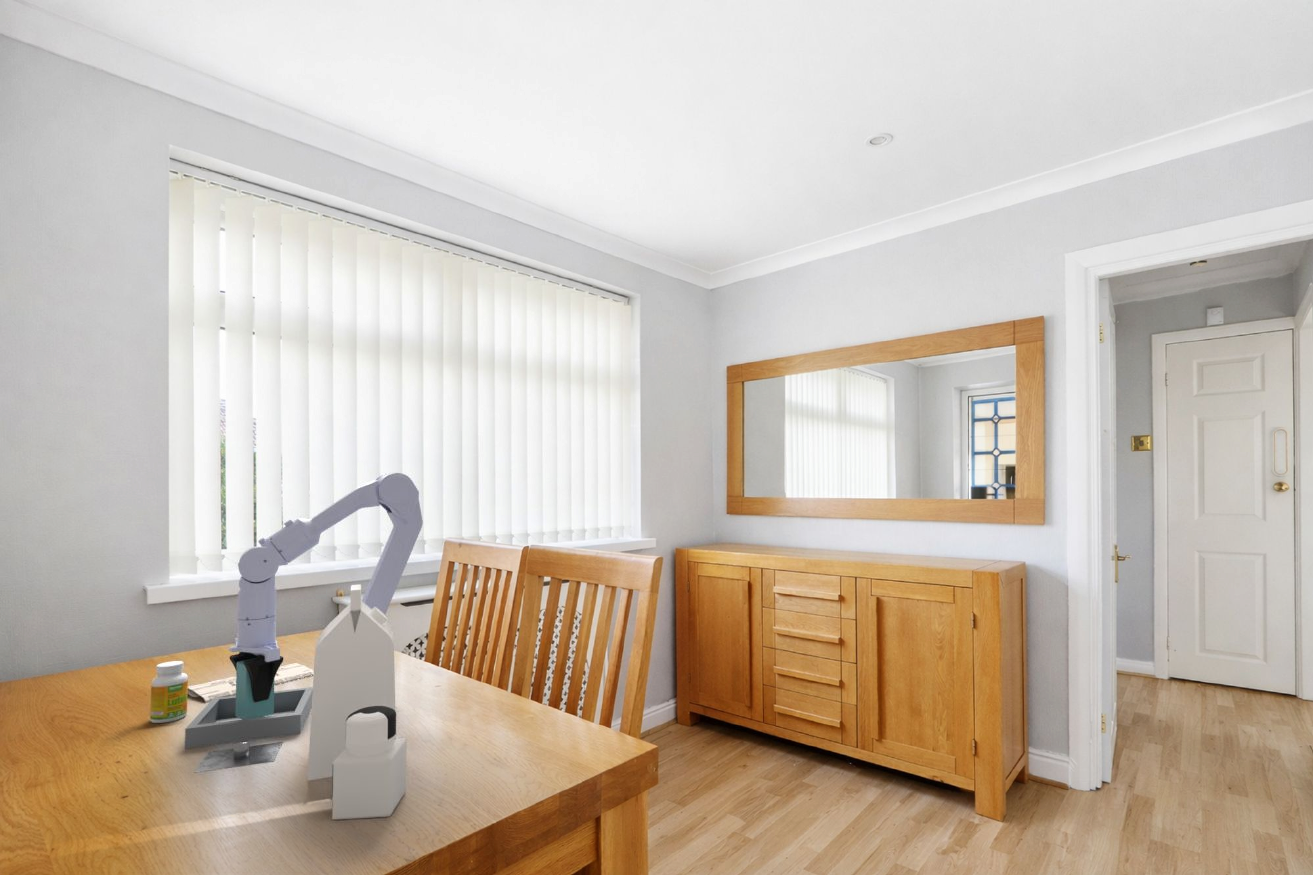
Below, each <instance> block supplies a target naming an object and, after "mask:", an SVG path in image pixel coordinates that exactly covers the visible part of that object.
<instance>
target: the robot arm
mask: <svg viewBox="0 0 1313 875" xmlns="http://www.w3.org/2000/svg"><path fill="white" fill-rule="evenodd" d="M416 486H417V485H415V483H414V482H413V480H412V478H410V476H409V475H407V474H405V473H402V472H393V473H384V474H382V475H379V476H378V477H377V478H376V479H374V480H369V481H367V482H366V483H363V484H362V485H360V486H358V487H355V488H354V489H352V490H351V491H350V492H348V493H347V494H345V495H343V497H341V498H339V499H338V500H336V501H335V502H333V503H332V504H331V505H329V506H328V507H326V508H325V509H323V510H322V511H321V512H319V513H317V515H314V516H313V517H311V518H310V519H308V518H301V517H299V518H296V519H295V520H292V519H289V520H286V522H284V524H283V525H284V527H282V528H281V529H279V530H277V531H276V532H275V533H273V534H271V535H270V536H269V537H267V538H265V537H262V538H260V539H259V540H258V541H257V542H258V543H259V545H260V546H258V545H257V546H253V547H249V548H248V549H247V550H245V551H244V552H243V553H242V555H241V557H240V558H239V562H238V564H237V566H238V571H239V574H240V575H241V576H240V579H239V581H238V587H239V590H238V593H237V627H236V628H237V630H236V632H237V635H236V636H237V637H235V638H234V645H231V646H229V647H228V651H229V652H230V653H236V654H232V655H230V656H229V660H230V662H231V663H232V665H233V667H234V668H235V671H236V670H237V662H239V661H243V664H244V665H245V667H246V669H247V671H248V674H249V677H250V681H251V689H252V696H253V700H254V702H259V701H263V700H267V699H269V696H270V692H271V688H272V684H273V681H274V678H275V675H276V673H277V671H278V669H279V667H280V666H282V664H283V662H284V656H281V647H279V646H278V640H277V639H276V638H277V636H276V635H277V592H278V591H277V588H276V574H277V572H278V570H279V567H280V566H287V565H288V564H290V563H292V562H293V561H294V560H296V559H297V558H299V557H301V556H302V555H304V554H305V553H307V552H308V551H310V550H311V549H313V548H314V547H315V546H317V545H318V544H319V543H320V539H321V534H322V533H324V532H325V531H326V530H328V529H329V528H331V527H333V526H335V525H337V524H338V523H339V522H341V521H343V520H344V519H346V518H348V517H349V516H351V515H353V514H354V513H356V512H357V511H359V510H361V509H365V508H366V509H368V508H373V507H380V506H381V507H382V508H383V509H384V510H385V511H386V513H387V515H388V517H389V519H390V521H391V522H392V526H393V527H392V529H391V531H390V534H389V536H388V538H387V540H386V543H385V546H384V548H383V550H382V552H381V554H380V558H379V559H378V562H377V564H376V567H375V569H374V571H373V573H372V576H371V579H370V580H369V583H368V585H367V587H366V589H365V591H364V594H363V595H362V596H363V597H362V598H361V600H362V602H363V603H365V604H366V605H367V606H368V607H370V608H371V609H373V608H374V607H377V608H378V609H379V610H380V611H381V612H382V613H383V614H384V615H385V616H386V614H387V611H388V610H389V607H390V606H391V605H390V604H391V602H392V600H393V597H394V595H395V592H396V590H397V589H398V585H399V583H400V581H401V578H402V575H403V573H404V571H405V568H406V566H407V564H408V561H409V559H410V556H411V554H412V552H413V549H414V546H415V544H416V542H417V540H418V537H419V535H420V532H421V530H422V528H423V524H424V523H423V516H422V511H421V505H420V504H421V503H420V499H419V498H420V496H419V495H420V492H419V489H418V488H417V487H416ZM237 652H238V653H237ZM255 658H257V659H255ZM250 659H251V660H250ZM244 660H246V661H244Z"/></svg>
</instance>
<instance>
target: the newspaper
mask: <svg viewBox="0 0 1313 875" xmlns="http://www.w3.org/2000/svg"><path fill="white" fill-rule="evenodd" d="M311 675H314V669H312V668H309V667H307V665H303V664H299V663H297V662H295V663H289V664H285V665H280V667H279V669H278V671H277V673H276V675H275V678H274V685H275V686H278V684H279V685H281V684H280V683H283V684H286V682H287V683H289V682H288V681H291V682H294V681H293V680H295V681H297V680H296V679H299V680H302V679H301V678H303V677H307V678H309V677H308V676H311ZM311 677H312V676H311ZM303 679H304V678H303ZM187 695H189V696H190V697H193V698H198V697H201V698H203V700H204V702H205V704H207V703H209V702H210V701H211V700H212V699H213V698H219V697H228V696H236V675H235V676H230V677H225V678H221V679H217V680H212V681H207V682H202V683H199V684H198V683H197V684H194V685H188V694H187Z"/></svg>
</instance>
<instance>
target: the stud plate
mask: <svg viewBox="0 0 1313 875" xmlns="http://www.w3.org/2000/svg"><path fill="white" fill-rule="evenodd" d="M283 744H284V741H279V742H272V743H271V742H270V743H264V744H256V745H255V744H254V745H250V740H242V741H238V742H233V748H228V749H220V750H214V751H209V752H208V753H207V755H206V756H205V757H204V758H203V760H202V761H201V762H200V764H199V765H198V767H197V768H196V769H195V771H194V772H193V773H194V774H199V773H203V772H204V773H205V772H211V771H216V770H224V769H232V768H240V767H245V766H252V765H258V764H259V765H260V764H266V763H267V764H268V763H273V762H275V761H276V758H277V756H278V755H279V752H280V750H281V749H282V746H283Z"/></svg>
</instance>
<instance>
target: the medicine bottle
mask: <svg viewBox="0 0 1313 875" xmlns="http://www.w3.org/2000/svg"><path fill="white" fill-rule="evenodd" d="M395 710H396V709H395ZM395 710H394V709H392V708H389V707H386V706H371V707H366V708H362V709H359V710H357V711H355V712H353V713H351V714H350V715H349V716H348V717H347V719H346V749H345V750H344V751H343V752H342V753H341V754H340V755H339V756H338V758H337V759H336V760H335V761H334V762H333V773H332V787H331V788H332V789H331V818H332V820H333V821H337V820H354V819H371V818H387V817H388V818H389V817H391V815H392V814H393V812H394V810H395V809H396V807H397V806H398V804H399V803H400V801H401V800H402V798H403V796H404V795H405V793H406V791H407V738H405V737H401V738H400V737H399V738H398V737H397V711H395Z"/></svg>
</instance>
